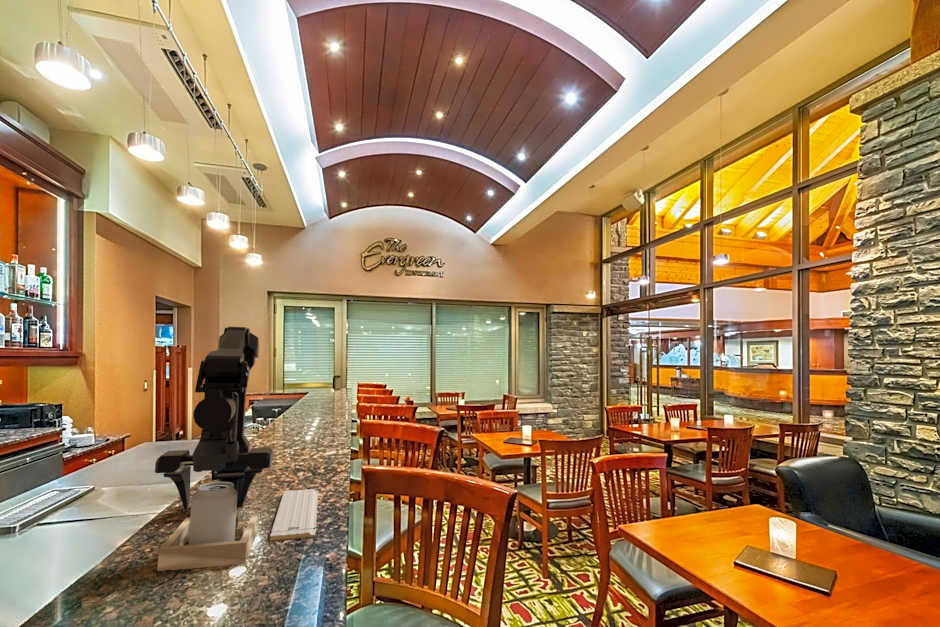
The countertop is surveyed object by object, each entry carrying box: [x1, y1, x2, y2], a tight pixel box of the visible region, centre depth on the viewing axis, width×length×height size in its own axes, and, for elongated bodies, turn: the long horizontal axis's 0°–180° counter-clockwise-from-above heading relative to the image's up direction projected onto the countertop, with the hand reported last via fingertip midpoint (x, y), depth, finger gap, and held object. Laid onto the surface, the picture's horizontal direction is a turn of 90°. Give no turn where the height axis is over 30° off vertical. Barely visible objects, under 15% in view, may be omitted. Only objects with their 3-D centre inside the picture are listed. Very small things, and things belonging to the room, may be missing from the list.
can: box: [187, 481, 238, 545], centre depth 85 cm, size 8×8×12 cm
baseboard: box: [269, 488, 322, 542], centre depth 106 cm, size 30×3×10 cm
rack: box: [156, 512, 260, 572], centre depth 86 cm, size 15×13×4 cm
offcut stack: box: [235, 511, 245, 540], centre depth 91 cm, size 4×8×4 cm, turn 107°
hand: (214, 506), depth 85 cm, fingers open, 9 cm apart
